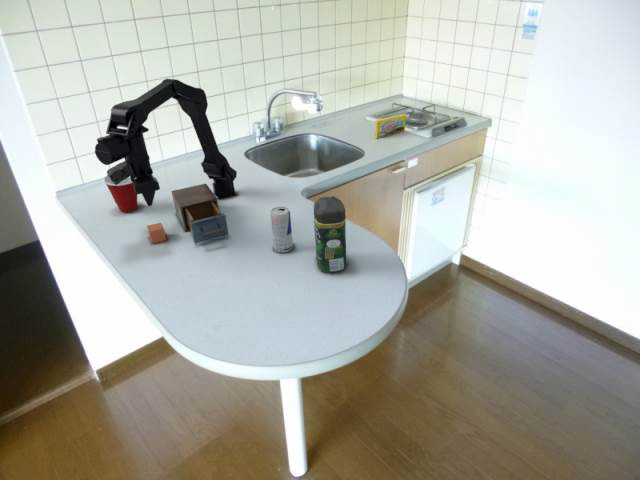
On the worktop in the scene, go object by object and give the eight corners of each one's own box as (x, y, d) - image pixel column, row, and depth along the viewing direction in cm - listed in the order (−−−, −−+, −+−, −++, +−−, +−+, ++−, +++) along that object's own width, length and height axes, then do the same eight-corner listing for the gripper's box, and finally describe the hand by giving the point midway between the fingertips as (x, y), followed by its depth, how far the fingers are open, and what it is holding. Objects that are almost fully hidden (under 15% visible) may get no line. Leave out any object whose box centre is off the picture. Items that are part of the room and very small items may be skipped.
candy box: (376, 139, 209) (377, 121, 205) (374, 138, 211) (374, 120, 207) (405, 132, 216) (406, 114, 212) (402, 131, 218) (403, 113, 213)
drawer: (233, 241, 136) (230, 221, 132) (198, 251, 132) (194, 230, 129) (217, 217, 149) (213, 198, 145) (185, 225, 145) (181, 206, 142)
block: (163, 234, 143) (161, 222, 141) (166, 240, 140) (163, 228, 138) (149, 237, 141) (146, 225, 139) (152, 244, 138) (149, 231, 136)
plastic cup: (135, 217, 153) (126, 184, 147) (106, 215, 155) (95, 182, 149) (152, 202, 162) (144, 170, 156) (124, 201, 164) (115, 169, 158)
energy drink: (295, 244, 135) (292, 207, 128) (288, 254, 130) (285, 216, 124) (278, 242, 136) (275, 205, 130) (271, 251, 132) (267, 214, 126)
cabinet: (221, 222, 148) (217, 198, 144) (185, 231, 144) (180, 207, 139) (210, 206, 158) (205, 183, 154) (176, 214, 154) (171, 191, 150)
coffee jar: (314, 255, 129) (311, 195, 120) (342, 252, 130) (341, 192, 120) (318, 275, 121) (315, 212, 111) (348, 272, 122) (348, 209, 112)
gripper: (101, 147, 131) (116, 197, 139) (107, 169, 116) (123, 224, 124) (142, 140, 135) (154, 189, 143) (153, 160, 120) (166, 213, 128)
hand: (149, 203), depth 134 cm, fingers open, 3 cm apart
